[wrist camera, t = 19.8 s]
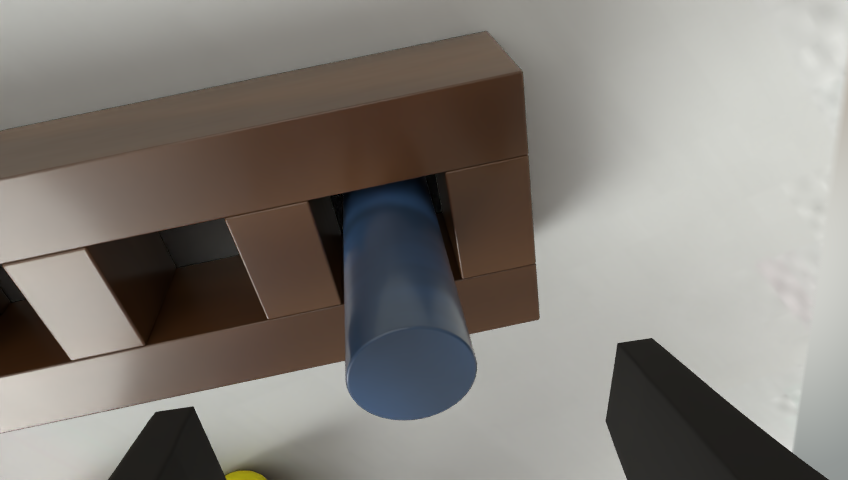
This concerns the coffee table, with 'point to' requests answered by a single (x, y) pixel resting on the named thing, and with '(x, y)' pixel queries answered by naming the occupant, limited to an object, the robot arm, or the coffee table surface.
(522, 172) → the rack
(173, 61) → the coffee table surface
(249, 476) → the opera glasses
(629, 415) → the robot arm
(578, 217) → the coffee table surface
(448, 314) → the peg
